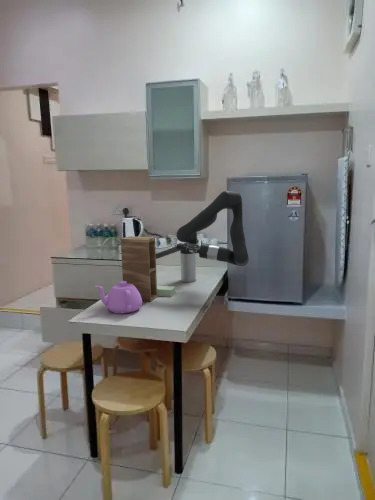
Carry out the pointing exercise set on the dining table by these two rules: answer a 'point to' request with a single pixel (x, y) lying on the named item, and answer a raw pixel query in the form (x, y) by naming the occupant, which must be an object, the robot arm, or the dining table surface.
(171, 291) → the green block
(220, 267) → the dining table surface
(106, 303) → the teapot
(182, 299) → the dining table surface
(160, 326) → the dining table surface
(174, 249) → the domino bar
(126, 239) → the shelf tower
